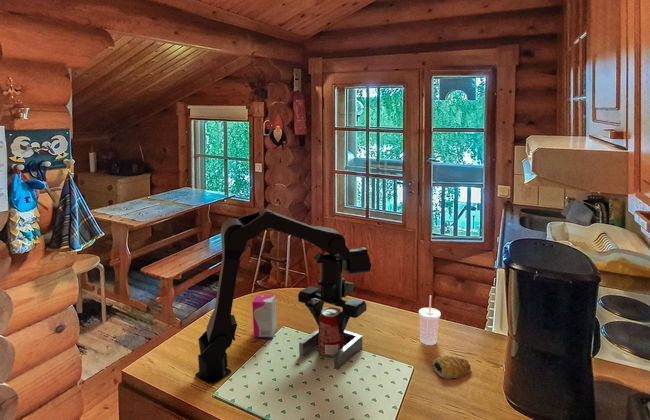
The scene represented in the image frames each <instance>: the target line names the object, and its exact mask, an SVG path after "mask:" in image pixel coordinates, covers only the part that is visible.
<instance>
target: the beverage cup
mask: <svg viewBox="0 0 650 420" xmlns="http://www.w3.org/2000/svg"><path fill="white" fill-rule="evenodd" d="M428 303H429V304H428V305H429V306H428V307H422V308H420V309H419V310H418V315H419V335H420V336H419V339H420V340H419V341H420V343H421V344H423V345H426V346H433V345H436V344H437V340H438V331H439V324H440V318H441V316H442V315H441V311H440V310H438V309H437V308H433V307H432V295H429V302H428Z"/></svg>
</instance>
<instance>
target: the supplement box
mask: <svg viewBox="0 0 650 420" xmlns="http://www.w3.org/2000/svg"><path fill="white" fill-rule="evenodd" d="M251 307H252V322H253V324H252V325H253V339H262V340H263V339H266V340H267V339H268V340H269V339H270V340H273V339H274V336H275V334H276V332H277V329H278V328H277V311H276V309H277V307H276V295H275V294H256V296H255V297H254V299H253V300H252V306H251Z"/></svg>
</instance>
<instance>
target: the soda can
mask: <svg viewBox="0 0 650 420" xmlns="http://www.w3.org/2000/svg"><path fill="white" fill-rule="evenodd" d="M341 312H342V309H340V308H338V307H333V306H329V307H324V308H323V309H322V310H321V314H320V316H319V326H318V329H319V345H318V351H319V353H320V354H321V355H324V356H326V357H334V354H336V353H337V352H338V351H339V350H341V349H342V348H343V347H344V345H343V334H340V331H339V321H338V314H339V313H341Z"/></svg>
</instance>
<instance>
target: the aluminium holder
mask: <svg viewBox="0 0 650 420" xmlns="http://www.w3.org/2000/svg"><path fill="white" fill-rule="evenodd" d="M315 347H316V348H317V347H319V328H318V329H316V330H314V331H313V332H312V333H310V334H309V335H308V336H306V337H305V338H304V339H302V340H299V342H298V350H299V351H298V354H299V357H301V356H304V357H305V356H306V355H307V354H309V353H311V352H312V351H313V350H314V349H316V348H315ZM311 350H312V351H311ZM362 350H363V335H361V334H358V333H355V332H352V331H349V330H346V329H345V330H344V333H343V348H342V349H341V350H339V351H338V352H337V353H336V354H334V356H333V370H335V369H336V371H339V370H340V369H341V368H342V367H344V365H346V364H347V363H348V362H349V361H350V360H351V359H353V357H354V356H356V355H357V354H358V353H359V352H360V351H362Z"/></svg>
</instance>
